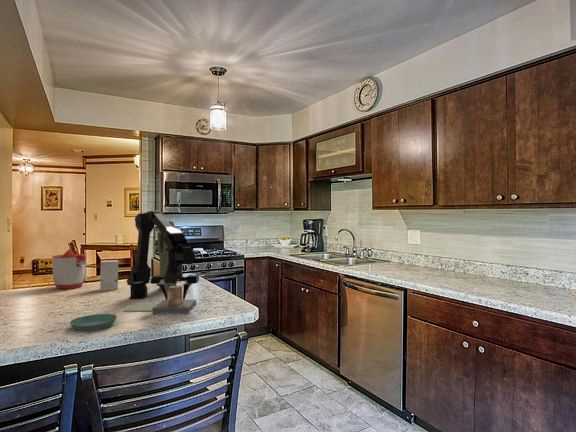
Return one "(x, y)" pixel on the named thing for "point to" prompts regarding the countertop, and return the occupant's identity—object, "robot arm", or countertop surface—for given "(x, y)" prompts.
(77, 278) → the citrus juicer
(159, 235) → the thermos
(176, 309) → the grey flat square slab
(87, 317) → the saucer
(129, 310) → the rubber mat
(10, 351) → the countertop surface
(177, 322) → the countertop surface
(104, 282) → the skincare box
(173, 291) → the wooden plug
